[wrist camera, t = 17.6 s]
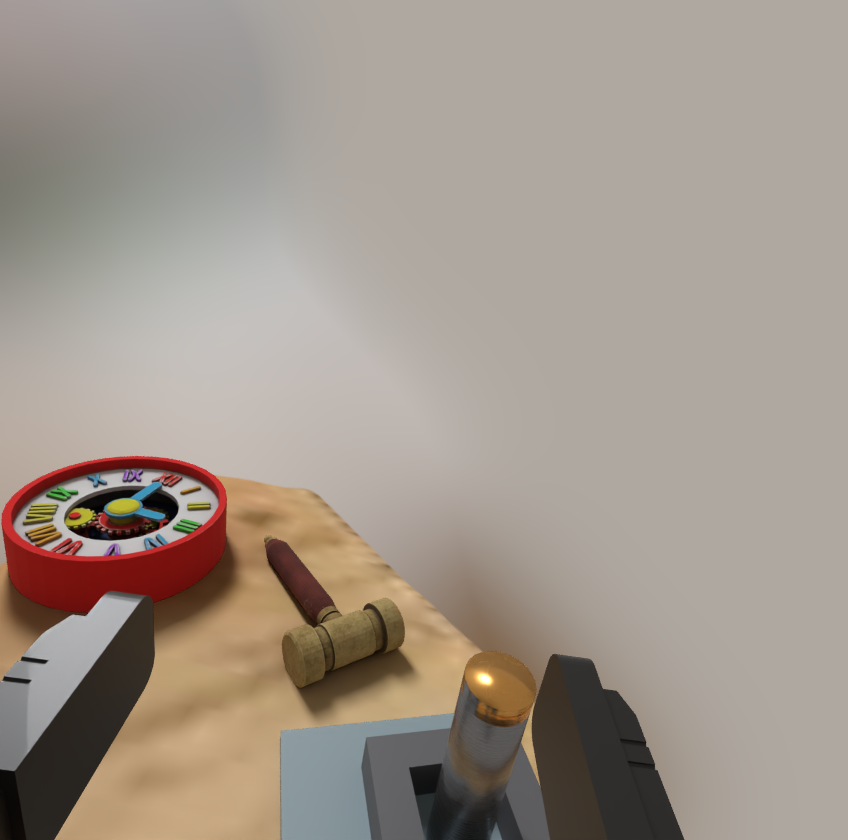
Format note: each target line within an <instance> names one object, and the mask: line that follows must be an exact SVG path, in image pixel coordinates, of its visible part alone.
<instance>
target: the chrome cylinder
mask: <svg viewBox="0 0 848 840" xmlns="http://www.w3.org/2000/svg"><path fill="white" fill-rule="evenodd" d="M535 694H536V683H535V680H534V678H533V675H532V674H531V672H530V671H529V669H528V668H527V667H526V666H525V665H524V664H523V663H522V662H520V661H519V660H517V659H516V658H514V657H512V656H510V655H508V654H505V653H501V652H495V651H487V652H482V653H479V654H476V655H475V656H473V657H472V658H471V659H470V660H469V661H468V663H467V664H466V667H465V671H464V675H463V680H462V684H461V688H460V692H459V696H458V700H457V705H456V709H455V713H454V717H453V721H452V725H451V730H450V734H449V738H448V742H447V746H446V750H445V755H444V759H443V763H442V767H441V771H440V776H439V780H438V784H437V788H436V792H435V796H434V801H433V805H432V809H431V813H430V817H429V821H428V826H427V830H426V840H491V837H492V833H493V830H494V827H495V824H496V820H497V817H498V814H499V811H500V808H501V804H502V801H503V798H504V795H505V792H506V788H507V785H508V782H509V779H510V775H511V772H512V769H513V766H514V763H515V759H516V756H517V753H518V750H519V746H520V743H521V740H522V737H523V734H524V730H525V727H526V724H527V721H528V718H529V714H530V711H531V708H532V705H533V701H534V698H535Z"/></svg>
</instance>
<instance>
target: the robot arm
mask: <svg viewBox="0 0 848 840" xmlns="http://www.w3.org/2000/svg"><path fill="white" fill-rule="evenodd" d="M154 657H155V647H154V614H153V600H152V598H151V597H150V596H145V595H138V594H131V593H124V592H117V591H109V592H107V593H106V594H104V596H103V597H102V598H101V599H100V600H99V601H98V602H97V604H96V605H95V606H94V607H93V608H92V610H91V611H90V612H89V613H88V614H87V615H86V616H79V615H71V616H69V617H68V618H66V619H65V620H63V621H61V622H60V623H58V624H57V625H55V626H53V627H52V628H50V629H49V630H47V631H45V632H44V633H43V634H42V635H41V636H40V637H39V638H38V639H37V640H36V641H35V642H34V644H33V645H32V646H31V647H30V648H29V649H28V650H27V651H26V652H25V653H24V655H23V656H22V658H21V660H20V661H17V662H16V663H15V664H14V666H13V667H12V668H11V669H10V670H9V671H8V672H7V673H6V674H5V675H4V678H3V680H2V681H0V840H54V839H55V838H56V836H57V834H58V833H59V831H60V829H61V828H62V826H63V824H64V823H65V821H66V819H67V817H68V816H69V814H70V812H71V811H72V809H73V807H74V806H75V804H76V802H77V801H78V799H79V797H80V796H81V794H82V792H83V791H84V789H85V787H86V786H87V784H88V782H89V781H90V779H91V777H92V776H93V774H94V772H95V771H96V769H97V767H98V766H99V764H100V762H101V761H102V759H103V757H104V756H105V754H106V752H107V751H108V749H109V747H110V746H111V744H112V742H113V741H114V739H115V737H116V736H117V734H118V732H119V731H120V729H121V727H122V726H123V724H124V722H125V721H126V719H127V717H128V716H129V714H130V712H131V711H132V709H133V707H134V706H135V704H136V702H137V701H138V699H139V697H140V696H141V694H142V692H143V691H144V689H145V687H146V685H147V683H148V680H149V678H150V675H151V672H152V668H153V664H154ZM532 741H533V747H534V753H535V758H536V764H537V769H538V775H539V781H540V786H541V792H542V797H543V803H544V809H545V814H546V820H547V825H548V831H549V837H550V840H684V838H683V835H682V833H681V830H680V827H679V825H678V822H677V820H676V817H675V814H674V812H673V810H672V807H671V804H670V802H669V799H668V796H667V794H666V791H665V789H664V786H663V784H662V781H661V778H660V776H659V774H658V771H657V770H655V763H654V760H653V758H652V755H651V753H650V751H649V748H648V747H646V740H645V737H644V735H643V732H642V730H641V727H640V725H639V722H638V719H637V717H636V715H635V714H634V712H633V711H632V710H631V708H630V707H629V706H628V705H627V703H626V702H625V701H624V700H623V698H622V697H621V696H620V694H619V693H618V692H617V691H613V690H606V689H603V688H602V686H601V683H600V680H599V677H598V674H597V671H596V668H595V665H594V663H593V662H592V660H590V659H587V658H580V657H572V656H565V655H558V654H553V655H552V656H551V657H550V659H549V662H548V665H547V668H546V671H545V675H544V678H543V681H542V684H541V687H540V690H539V694H538V696H537V700H536V703H535V706H534V710H533V716H532Z"/></svg>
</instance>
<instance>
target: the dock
mask: <svg viewBox="0 0 848 840" xmlns="http://www.w3.org/2000/svg"><path fill="white" fill-rule="evenodd" d="M453 717H454V713H452V714H442V715H433V716H423V717H413V718H403V719H393V720H383V721H374V722H364V723H354V724H344V725H334V726H325V727H315V728H305V729H295V730H285V731H281V738H280V800H281V840H426V830H427V826H428V821H429V817H430V813H431V809H432V805H433V801H434V796H435V792H436V788H437V784H438V780H439V776H440V771H441V767H442V763H443V759H444V755H445V750H446V746H447V742H448V738H449V734H450V730H451V725H452V721H453ZM491 840H550V837H549V831H548V825H547V820H546V814H545V809H544V803H543V797H542V792H541V788H540V786H539V784H538V781H537V779H536V776H535V774H534V772H533V769H532V767H531V765H530V762H529V760H528V758H527V755H526V753H525V751H524V748H523V746H522V744H521V743H520V746H519V750H518V753H517V756H516V759H515V763H514V766H513V769H512V772H511V775H510V779H509V782H508V785H507V788H506V792H505V795H504V798H503V801H502V804H501V808H500V811H499V814H498V817H497V820H496V824H495V827H494V830H493V833H492V837H491Z"/></svg>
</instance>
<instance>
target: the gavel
mask: <svg viewBox="0 0 848 840" xmlns="http://www.w3.org/2000/svg"><path fill="white" fill-rule="evenodd" d="M264 542H265V548H266V553H267V558H268V560H269V561H270V562H271V564H272V565H273V567H274V568H275V569H276V571H277V572H278V574H279V575H280V576H281V578H282V579H283V580H284V582H285V583H286V585H287V586H288V587H289V589H290V590H291V592H292V593H293V594H294V596H295V597H296V598H297V600H298V601H299V603H300V604H301V605H302V607H303V608H304V610H305V611H306V612H307V614H308V615H309V616H310V618H311V619H312V620H314V621H315V622H316V623H317V624H318V625H317V626H316V627H315V628H313V627H312V626H310V625H304V626H301V627H298V628H295V629H292V630H289V631H287V632H285V634H284V637H283V641H282V653H283V659H284V663H285V667H286V670H287V672H288V673H289V675H290V677H291V679H292V681H293V682H294V684H295V685H296V686H298V687H299V688H301V687H304V686H306V685H309V684H311V683H313V682H316V681H318V680H321V679H322V678H323V677H324V674H325V671H327V670H328V671H332V670H335V669H337V668H340V667H342V666H345V665H347V664H350V663H352V662H354V661H357V660H359V659H362V658H364V657H367V656H369V655H372V654H373V653H374V651H377V652H378V653H379V654H384V653H386V652H389V651H391V650H394V649H396V648H398V647H400V646H401V645H402V644H403V642H404V636H405V628H404V622H403V618H402V616H401V613H400V611H399V609H398V608H397V606H396V605H395V604H394V602H393V601H391V600H390V599H388V598H383V599H380V600H377V601H374V602H371V603H368V604H366V605H365V606H364V609H363V611H361V610H359V611H356V612H353V613H350V614H347V615H344V616H342V615H341V614H340V612H339V611H338V610H337V609H336V607H335V605H334V602H333V600H332V599H331V598H330V596H329V595H328V594H327V593H326V591H325V590H324V589H323V588H322V586H321V585H320V584H319V583H318V581H317V580H316V579H315V578H314V576H313V575H312V574H311V573H310V571H309V570H308V569H307V568H306V567H305V565H304V564H303V563H302V562H301V560H300V559H299V558H298V557H297V555H296V554H295V553H294V552H293V550H292V549H291V548H290V547H289V545H288V544H287V543H286V542H284V541H281V540H278V539H277V538H275V537H272V536H271V535H267V536H266V537H265V538H264Z"/></svg>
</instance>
